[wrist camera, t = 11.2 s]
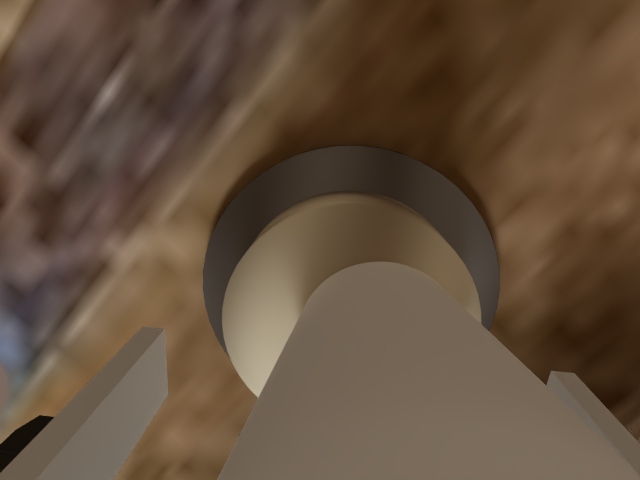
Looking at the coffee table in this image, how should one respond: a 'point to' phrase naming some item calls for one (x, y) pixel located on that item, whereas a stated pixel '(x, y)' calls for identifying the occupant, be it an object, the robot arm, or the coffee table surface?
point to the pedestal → (336, 244)
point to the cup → (408, 396)
